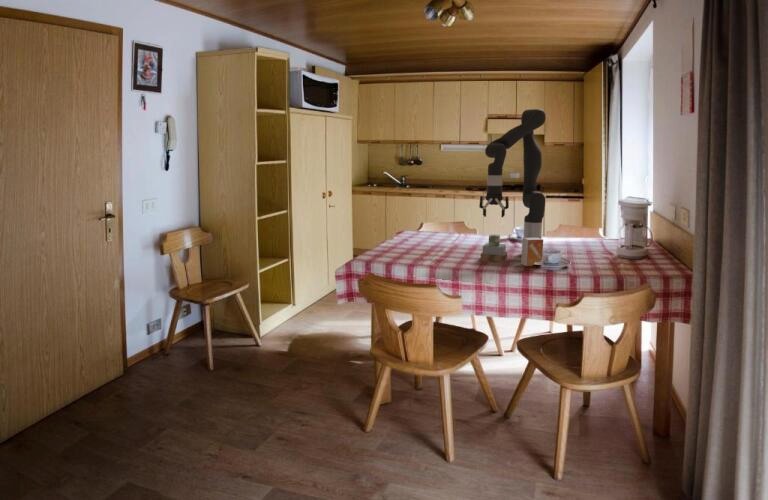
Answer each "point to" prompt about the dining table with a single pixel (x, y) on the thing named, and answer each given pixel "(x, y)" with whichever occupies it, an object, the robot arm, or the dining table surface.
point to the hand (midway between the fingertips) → (493, 216)
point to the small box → (531, 251)
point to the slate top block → (494, 249)
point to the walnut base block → (494, 258)
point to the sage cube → (494, 240)
